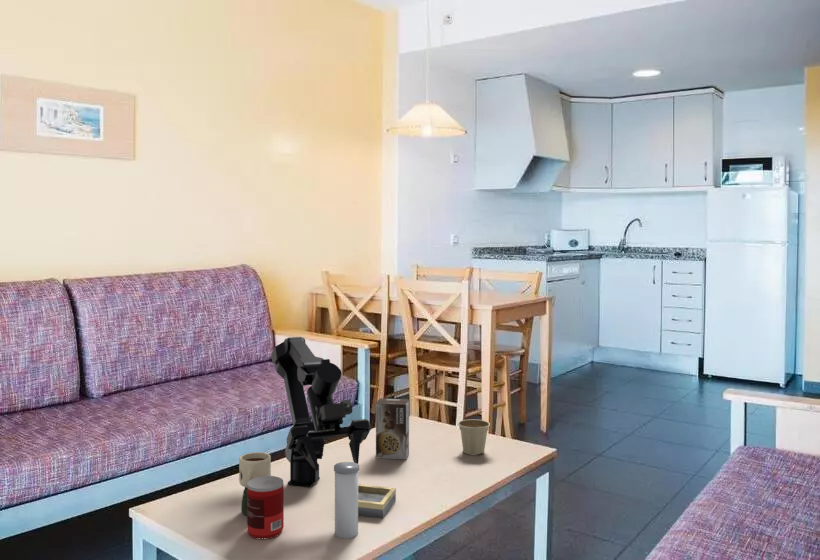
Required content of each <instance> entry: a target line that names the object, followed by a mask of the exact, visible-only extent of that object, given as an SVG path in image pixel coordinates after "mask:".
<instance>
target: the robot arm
mask: <svg viewBox="0 0 820 560" xmlns="http://www.w3.org/2000/svg"><path fill="white" fill-rule="evenodd" d="M271 361H272V365H274V367H275V371H276V372H275V373H277V374H278V376H280V377H281V378H282V379H283V381H284V388H285V390H286V396H287V401H288V406H289V412H290V417H291V422H292V426H291V428H290V429H289V430H288V433H287V437H286V447H285V450H284V451H285V452H284V453H285V458H286V460H287V461H288V462H289V463H290V464H289V465H290V466H289V467H290V469H289V470H290V473H289V474H290V475H289V477H290V478H289V481H288V482H287V485H289V486H290V485H291V486H297V487H298V486H299V487H309V488H310V487H313V486H314V485H315V484H316V483H317V482H319V480H321V479H320V464H319V462H318V460H322V459H323V456H324V448H325V443H326V442H325V440H324V439H327V438H328V439H329V438H337V437H343V436H345V437H346V436H348V437H347V438H348V440H349V443H348V445H349V448H350V453H351V458H352V462H354V463H357V464H359V458H360V457H359V456H360V448H361V444H362V443H363V441H365V440H367V438H368V435H369V434H370V432H371V430H372V426H371V422H370V421H369V420H368V419H366V418H363V419H362V418H361V419H353V420H351V422H350V424H349V426H342V427H341V425H342V424H343V423H344V420H343V419H344V418H346V417H347V416H348V415H351V414H352V413H353V406H352V402H351V399H343V400H341V401H340V403H339V402H337V403H336V402H335V400H334V397H333V394H334V393H336V390H337V388H338V385H339V383H340V380H341V378H342V370H341V369H340V367H338V365H337V364H335V363H332V362H331V360H330V359H329V358H325V359H324V358H323V357H318V356H315V354H314V352H312V350H311V348H310V347H309V346H308V345H307V343H306V339H305V337H302V336H296V337H295V336H291V337H287V338H285V339H284V341H282V342H281V343H279V344H276V345H275V346H274V348H273V350H272V352H271ZM305 386H309V387H308V389H307V391H306V393H305V388H304V387H305ZM306 396H307V397H306ZM307 401H308V402H307ZM308 404H309V407H308ZM309 409H310V412H309ZM310 413H311V417H310Z"/></svg>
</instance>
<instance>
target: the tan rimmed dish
mask: <svg viewBox="0 0 820 560" xmlns="http://www.w3.org/2000/svg"><path fill="white" fill-rule="evenodd" d="M396 491H397V488H396V487H390V486H389V487H388V486H387V487H385V486H378V485H370V484H359V483H358V517H360V516H361V517H367V518H377V519H384V518H385V517H386V515H387V513H388V512H389V511H390V509H391V508H392V507H393V506H394V504H395V503H396V501H397V500H396V499H397V497H396V496H397V492H396Z"/></svg>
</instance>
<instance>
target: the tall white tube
mask: <svg viewBox="0 0 820 560" xmlns="http://www.w3.org/2000/svg"><path fill="white" fill-rule="evenodd" d="M333 471H334V536H335V537H336V538H339V539H343V540H344V539H345V540H346V539H352V538H355V537H357V536H358V534H359V515H358V484H359V471H360V464H359V463H358V464H357V463H354V461H342V462H338V463H335V464H334V465H333Z"/></svg>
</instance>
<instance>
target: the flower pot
mask: <svg viewBox="0 0 820 560" xmlns="http://www.w3.org/2000/svg"><path fill="white" fill-rule="evenodd" d="M457 425H458V426H459V430H460V436H461V443H462V444H461V445H462V452H463V453H464V454H467V455H469V454H471V455H470V456H478V454H479V455H480V454H481V453H482V455H483V454H484V453H485V448H486V443H487V442H486V441H487V435H488V434H487V433H488V431H489V427H490V426H491V423H490V422H489V421H486V420H483V419H477V418H476V419H473V418H472V419H464V420H463V419H462V420H460V421H458V422H457Z"/></svg>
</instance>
